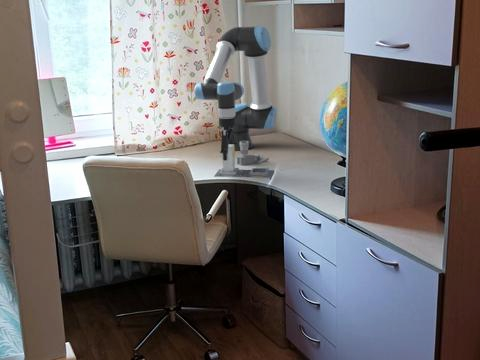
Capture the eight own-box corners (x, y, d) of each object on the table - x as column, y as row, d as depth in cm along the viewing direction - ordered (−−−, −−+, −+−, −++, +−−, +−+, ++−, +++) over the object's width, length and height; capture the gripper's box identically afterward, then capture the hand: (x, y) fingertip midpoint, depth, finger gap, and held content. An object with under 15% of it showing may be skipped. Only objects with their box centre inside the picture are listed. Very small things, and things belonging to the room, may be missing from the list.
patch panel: (219, 171, 300) (219, 166, 299) (274, 172, 295) (274, 167, 294) (213, 178, 289) (213, 173, 288) (270, 179, 284) (270, 174, 283)
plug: (225, 171, 296) (224, 144, 292) (235, 171, 295) (234, 144, 291) (223, 174, 291) (222, 146, 288) (233, 174, 290) (232, 146, 287)
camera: (233, 141, 307) (258, 136, 316) (233, 164, 311) (258, 159, 319) (243, 144, 301) (269, 139, 309) (244, 168, 304) (269, 163, 312)
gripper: (224, 111, 298) (226, 156, 304) (212, 122, 275) (214, 170, 281) (240, 111, 297) (242, 156, 303) (229, 122, 273) (231, 170, 279)
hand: (228, 163), depth 292 cm, fingers open, 13 cm apart
